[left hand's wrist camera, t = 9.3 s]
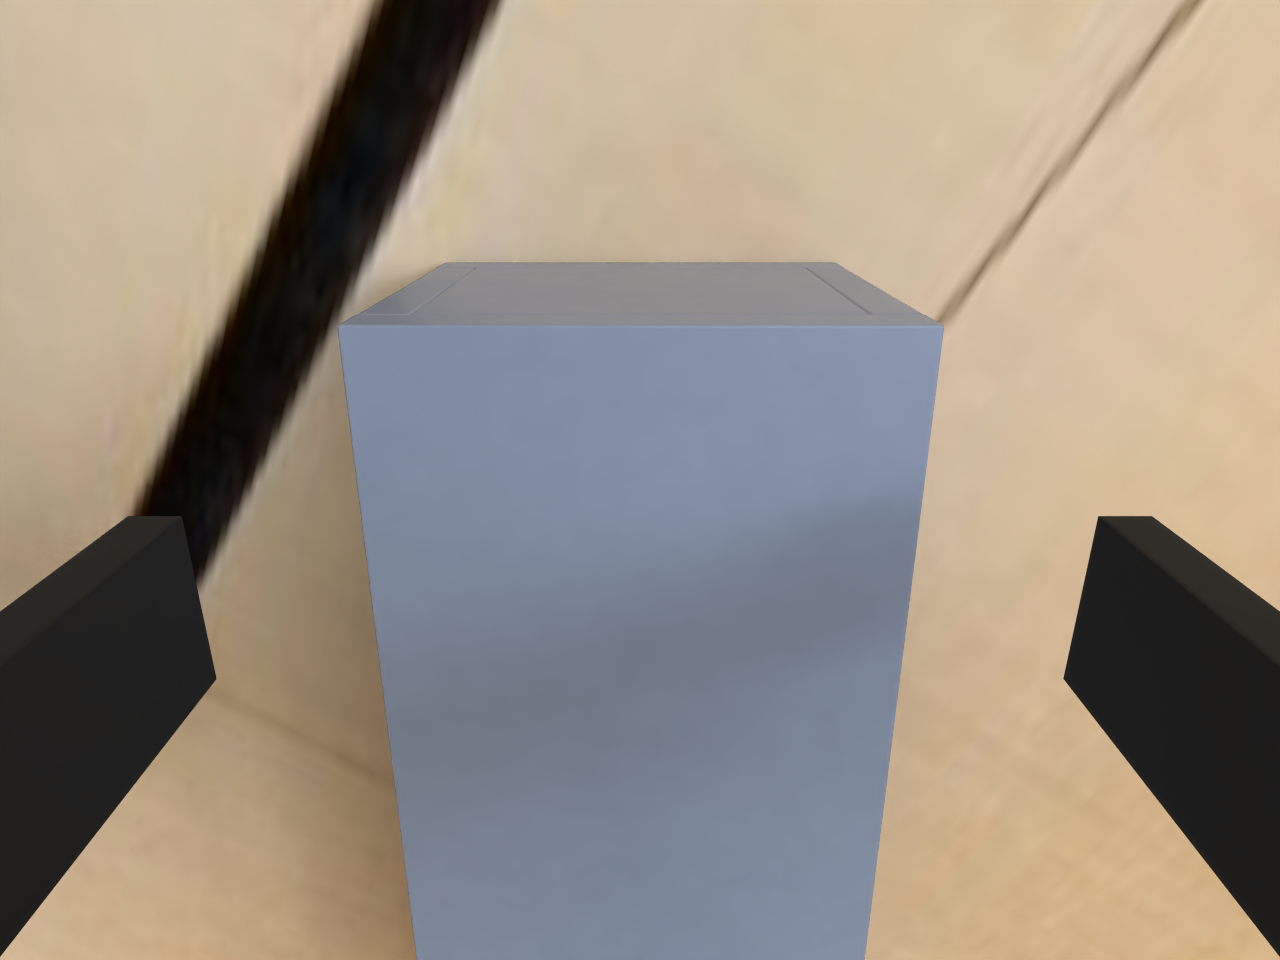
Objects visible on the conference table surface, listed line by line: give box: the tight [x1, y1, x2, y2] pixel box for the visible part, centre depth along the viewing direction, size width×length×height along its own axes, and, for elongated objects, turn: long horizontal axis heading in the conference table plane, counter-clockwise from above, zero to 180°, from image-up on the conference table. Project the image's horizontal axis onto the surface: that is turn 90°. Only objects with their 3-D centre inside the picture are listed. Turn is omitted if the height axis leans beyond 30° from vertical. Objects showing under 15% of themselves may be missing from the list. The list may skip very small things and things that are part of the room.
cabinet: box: [338, 263, 944, 960], centre depth 22 cm, size 22×10×8 cm, turn 0°
